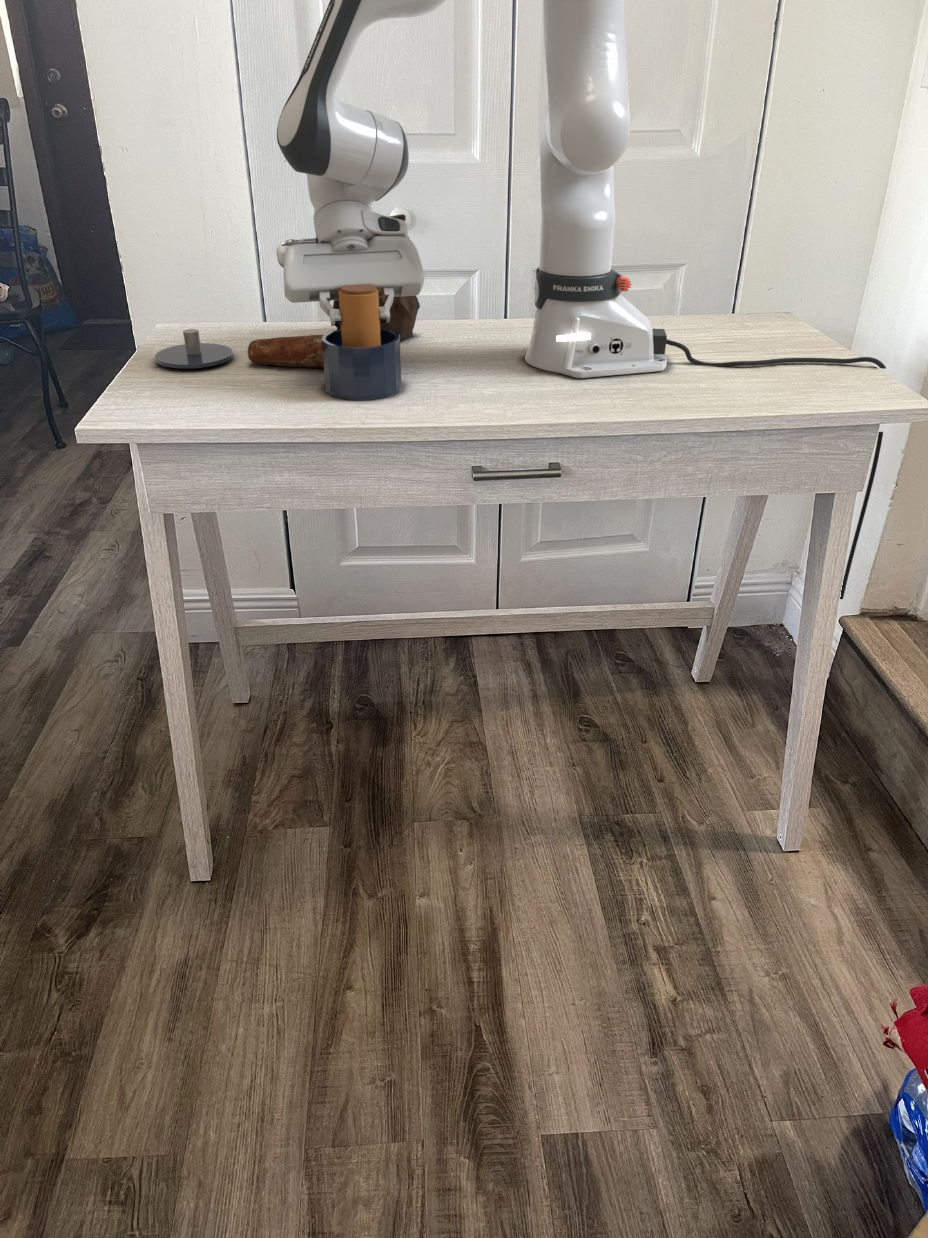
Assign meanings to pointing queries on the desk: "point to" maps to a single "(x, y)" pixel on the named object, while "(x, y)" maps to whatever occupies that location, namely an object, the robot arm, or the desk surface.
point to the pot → (362, 367)
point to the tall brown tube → (360, 315)
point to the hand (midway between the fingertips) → (361, 322)
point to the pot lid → (193, 353)
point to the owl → (398, 310)
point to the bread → (288, 351)
